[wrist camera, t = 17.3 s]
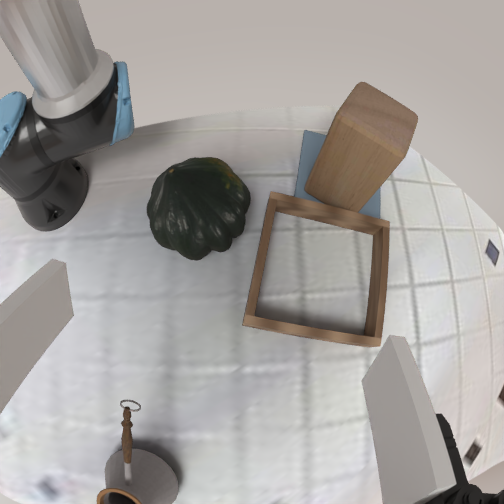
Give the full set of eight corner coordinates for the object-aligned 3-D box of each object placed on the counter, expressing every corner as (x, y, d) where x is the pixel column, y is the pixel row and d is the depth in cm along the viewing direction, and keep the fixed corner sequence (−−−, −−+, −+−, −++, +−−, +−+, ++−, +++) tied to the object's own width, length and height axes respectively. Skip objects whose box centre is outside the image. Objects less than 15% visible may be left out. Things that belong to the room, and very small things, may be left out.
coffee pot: (176, 510, 33) (160, 560, 19) (109, 489, 33) (71, 528, 19) (197, 397, 40) (182, 418, 26) (123, 376, 40) (79, 385, 26)
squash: (281, 233, 43) (240, 137, 35) (192, 295, 40) (130, 204, 31) (237, 206, 54) (201, 132, 46) (166, 253, 51) (120, 181, 43)
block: (324, 155, 54) (360, 76, 35) (370, 183, 53) (421, 114, 34) (300, 192, 51) (335, 111, 32) (350, 222, 50) (407, 156, 31)
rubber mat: (293, 199, 51) (294, 197, 51) (304, 131, 56) (304, 129, 56) (378, 221, 51) (380, 219, 51) (378, 153, 57) (379, 151, 56)
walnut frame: (242, 325, 44) (243, 323, 40) (267, 203, 51) (270, 191, 47) (368, 347, 44) (380, 346, 40) (379, 230, 51) (389, 221, 47)
